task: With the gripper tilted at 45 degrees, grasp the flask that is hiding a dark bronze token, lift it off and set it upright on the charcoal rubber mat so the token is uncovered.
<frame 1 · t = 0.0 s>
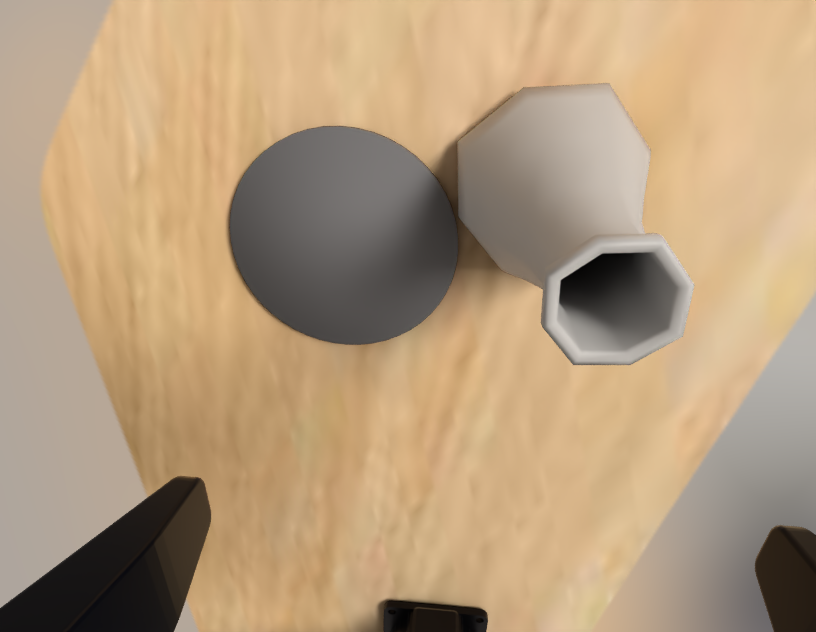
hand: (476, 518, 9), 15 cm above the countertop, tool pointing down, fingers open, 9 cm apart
rubber mat: (344, 244, 22), on the countertop
flask: (548, 181, 20), on the countertop, touching bronze token
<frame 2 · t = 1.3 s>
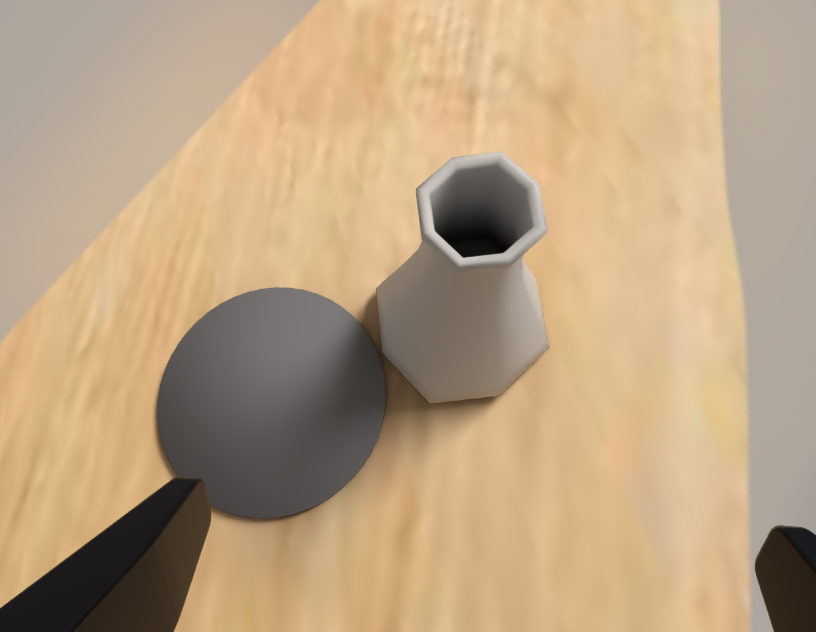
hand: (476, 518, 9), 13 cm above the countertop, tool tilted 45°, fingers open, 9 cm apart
rubber mat: (273, 397, 22), on the countertop
flask: (460, 320, 23), on the countertop, touching bronze token
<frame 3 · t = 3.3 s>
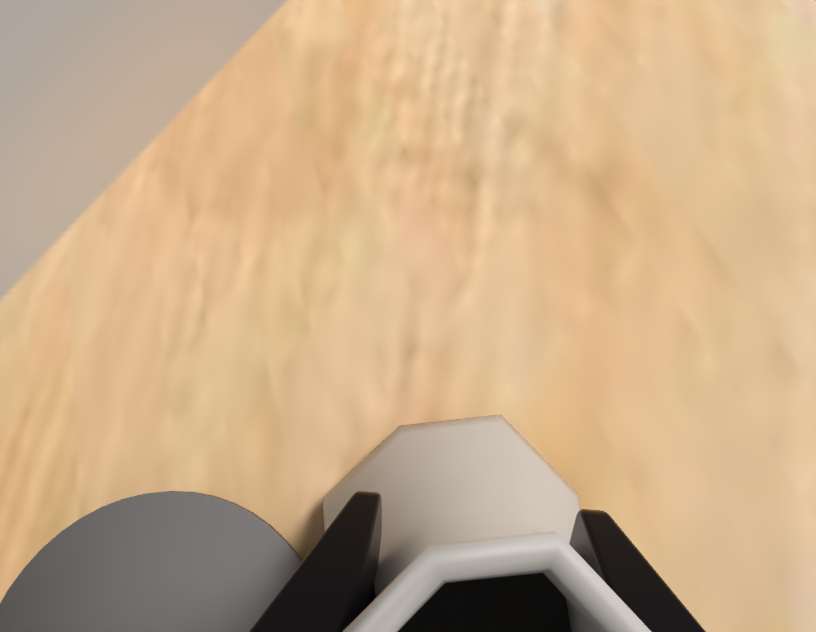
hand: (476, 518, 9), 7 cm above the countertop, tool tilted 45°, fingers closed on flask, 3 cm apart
flask: (455, 550, 14), on the countertop, touching bronze token, gripper
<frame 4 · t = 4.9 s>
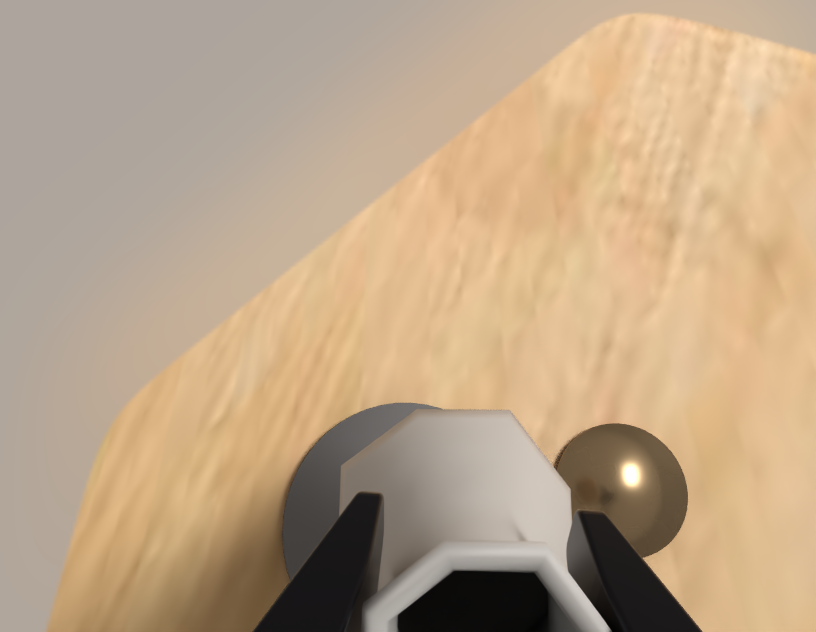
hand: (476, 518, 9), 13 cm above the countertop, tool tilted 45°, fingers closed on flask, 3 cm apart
bronze token: (619, 488, 21), on the countertop
rubber mat: (404, 525, 21), on the countertop
flask: (453, 524, 16), point 5 cm above the countertop, touching gripper
when the fingers open (8 cm above the countertop, at t = 6.6 s): flask stays where it is, resting on rubber mat.
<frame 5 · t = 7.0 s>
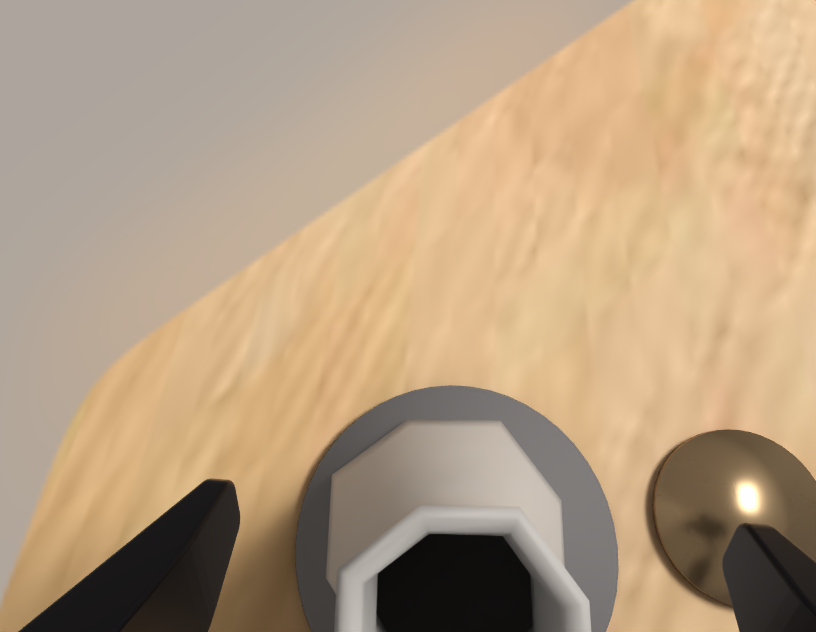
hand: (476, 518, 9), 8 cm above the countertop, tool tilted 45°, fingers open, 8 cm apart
bronze token: (738, 515, 16), on the countertop
rubber mat: (454, 544, 16), on the countertop
flask: (444, 536, 16), resting on rubber mat
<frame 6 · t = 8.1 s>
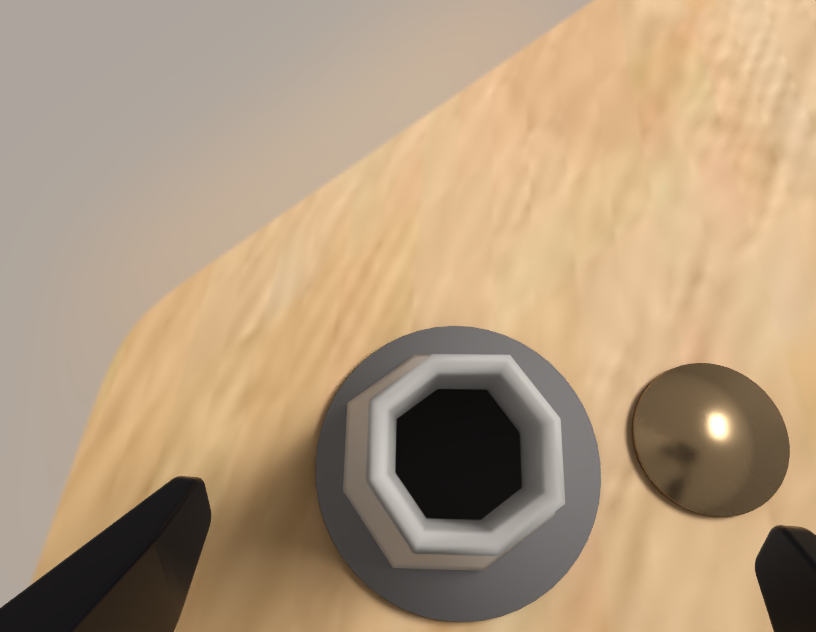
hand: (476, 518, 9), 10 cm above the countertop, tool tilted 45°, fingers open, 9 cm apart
bronze token: (708, 437, 18), on the countertop
rubber mat: (455, 463, 18), on the countertop
flask: (447, 456, 18), resting on rubber mat
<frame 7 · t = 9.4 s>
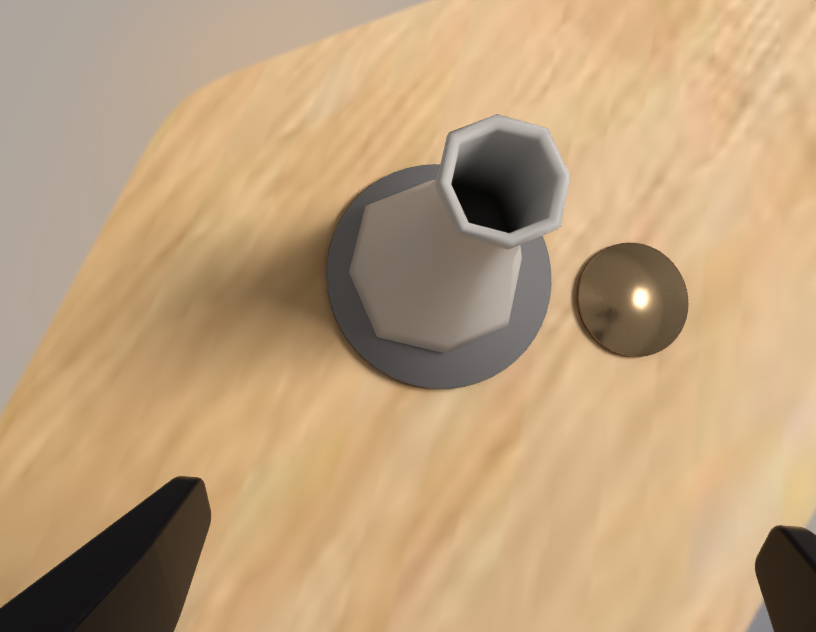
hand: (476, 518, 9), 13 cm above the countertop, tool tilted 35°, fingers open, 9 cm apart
bronze token: (631, 299, 23), on the countertop
rubber mat: (440, 275, 22), on the countertop
flask: (435, 268, 22), resting on rubber mat
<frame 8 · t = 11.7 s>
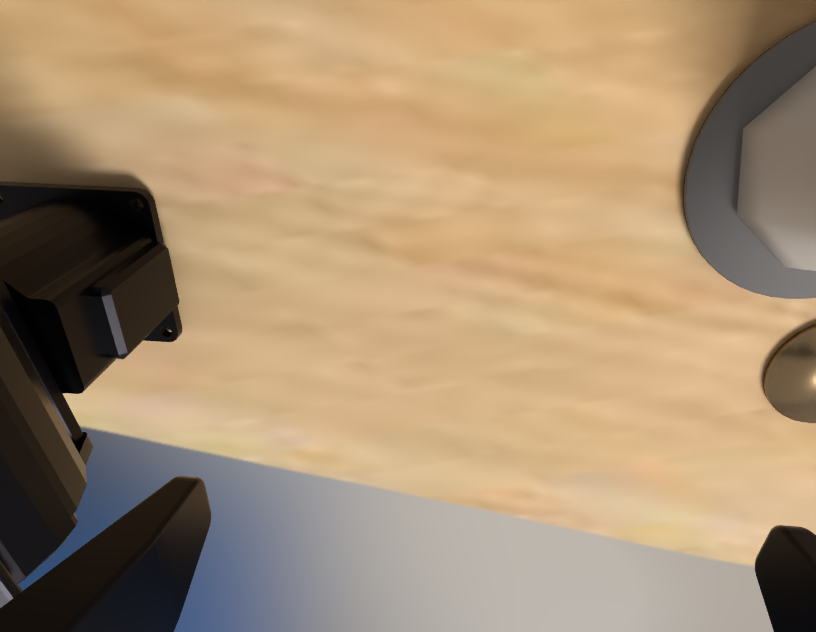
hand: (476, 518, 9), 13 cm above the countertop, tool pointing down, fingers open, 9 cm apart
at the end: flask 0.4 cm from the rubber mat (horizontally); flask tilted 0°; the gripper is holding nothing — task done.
